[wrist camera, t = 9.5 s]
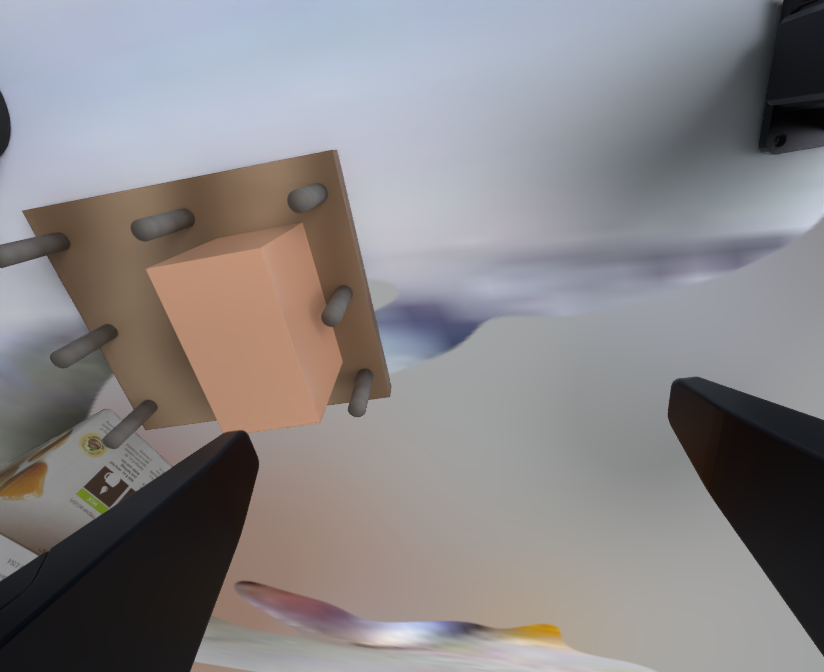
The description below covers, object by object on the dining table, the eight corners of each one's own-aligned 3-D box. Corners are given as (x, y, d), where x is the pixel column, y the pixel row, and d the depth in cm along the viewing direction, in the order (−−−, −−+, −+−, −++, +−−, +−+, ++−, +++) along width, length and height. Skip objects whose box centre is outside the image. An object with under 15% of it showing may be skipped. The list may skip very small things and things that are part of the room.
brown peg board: (336, 150, 17) (313, 150, 13) (391, 386, 22) (385, 433, 18) (41, 208, 18) (-53, 222, 15) (156, 419, 23) (107, 468, 20)
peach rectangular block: (302, 222, 17) (260, 248, 13) (342, 361, 20) (320, 423, 16) (216, 238, 18) (145, 268, 13) (268, 373, 21) (224, 436, 16)
